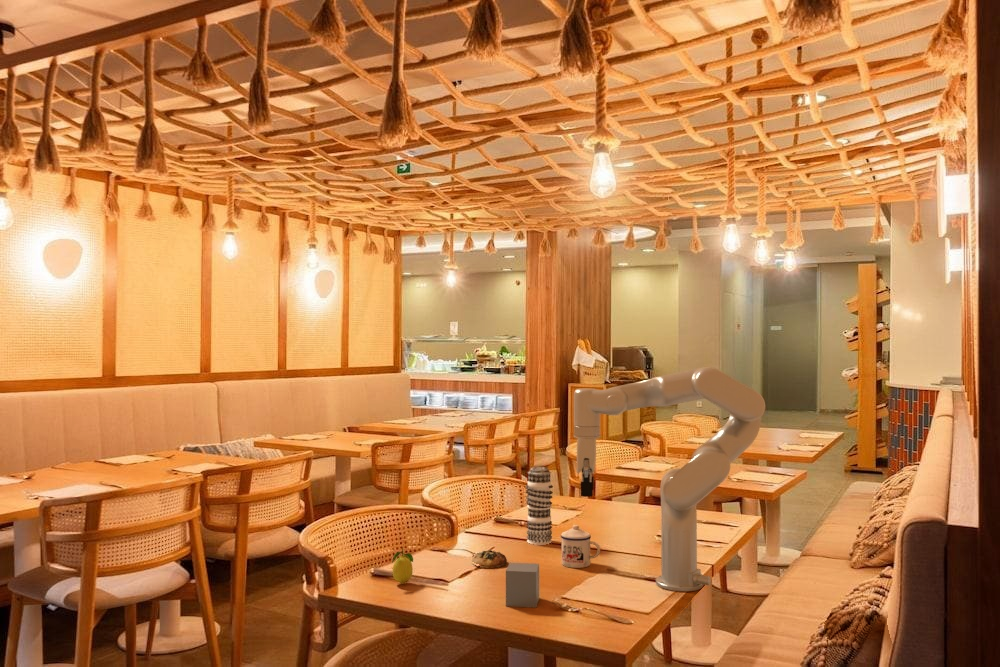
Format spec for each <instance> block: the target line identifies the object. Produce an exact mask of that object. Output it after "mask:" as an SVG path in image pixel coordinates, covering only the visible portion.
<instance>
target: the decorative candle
mask: <svg viewBox="0 0 1000 667" xmlns="http://www.w3.org/2000/svg"><path fill="white" fill-rule="evenodd" d="M551 474H552V472H551V471H550V470H549V468H548V467H546V466H545V467H544V466H534V467H533V466H532V467H531V468H530V469H529V471H527V475H528V476H527V478H528V480H527V484H526V485H525V489H526V491H525V493H526V494H527V496H526V504H527V505H526V508H527V509H528V512H527V520H526V521H527V522H526V524H527V526H526V528H527V530H526V534H527V535H526V538H527V540H526V543H527V542H528V543H527V544H529V543H530V544H529V545H533V544H534V545H533V546H546V544H548V545H550V544H549V543H551V542H552V543H553V541H552V539H553V535H552V534H553V531H552V530H551V529H552V527H553V526H552V523H553V522H552V515H551V509H552V508H553V506H552V505H553V502H552V501H551V499H553V496H552V494H553V491H552V490H551V489H552V488H553V487H554V486H553V485H552V481H551ZM552 543H551V544H552Z"/></svg>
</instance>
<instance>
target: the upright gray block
mask: <svg viewBox="0 0 1000 667" xmlns="http://www.w3.org/2000/svg"><path fill="white" fill-rule="evenodd" d="M539 600H540V563H534V562H533V563H532V562H531V563H530V562H529V563H528V562H509V563H508V565H507V567H506V569H505V607H514V608H515V607H518V608H533V609H535V608H537V606H538V603H539Z"/></svg>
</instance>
